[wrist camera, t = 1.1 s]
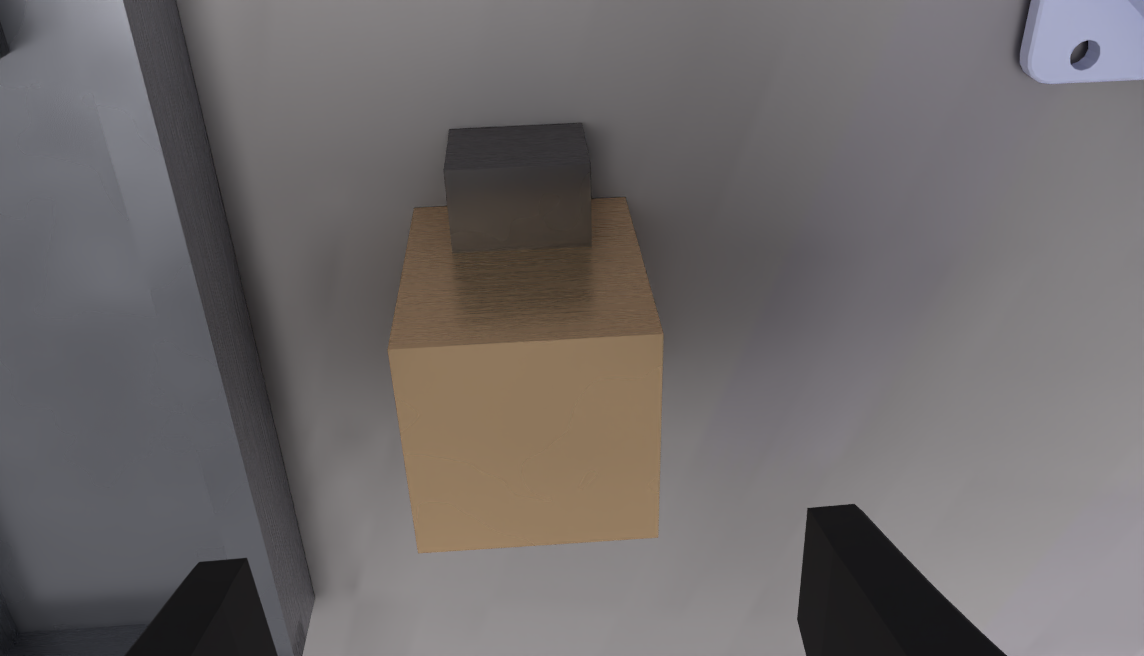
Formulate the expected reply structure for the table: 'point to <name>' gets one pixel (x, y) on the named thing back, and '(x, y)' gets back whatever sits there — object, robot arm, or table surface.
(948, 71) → the table surface
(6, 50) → the steel block
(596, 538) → the wooden block with cap
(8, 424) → the tray
